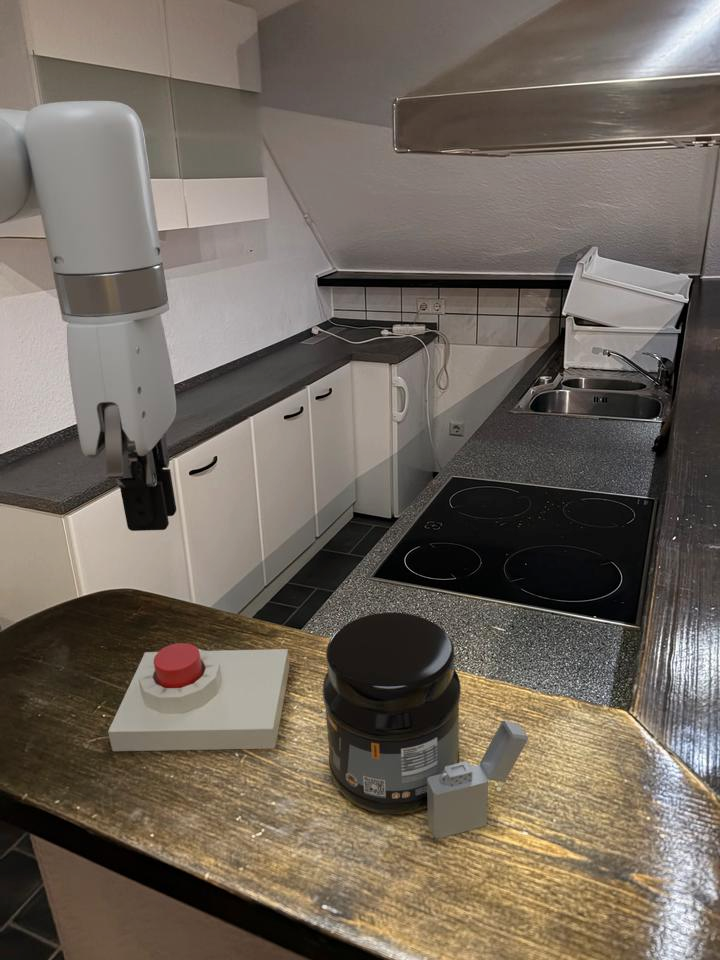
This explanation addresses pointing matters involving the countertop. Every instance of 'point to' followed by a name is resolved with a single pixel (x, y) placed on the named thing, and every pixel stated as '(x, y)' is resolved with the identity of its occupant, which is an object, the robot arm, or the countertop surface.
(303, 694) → the countertop surface
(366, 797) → the supplement container
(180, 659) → the power button
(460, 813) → the lighter
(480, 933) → the countertop surface
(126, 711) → the grey button base
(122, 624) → the countertop surface
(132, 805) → the countertop surface
